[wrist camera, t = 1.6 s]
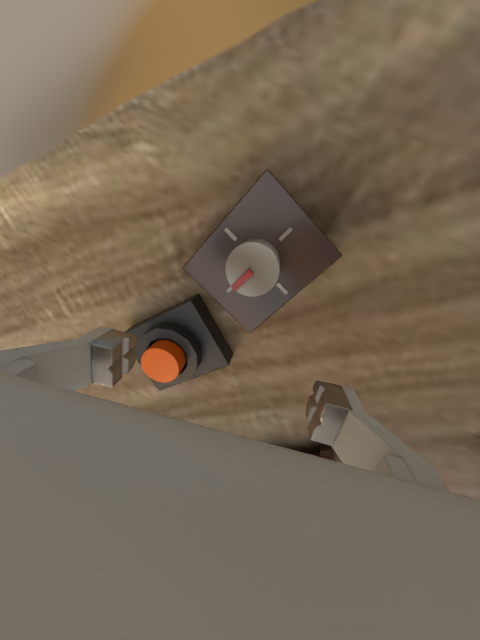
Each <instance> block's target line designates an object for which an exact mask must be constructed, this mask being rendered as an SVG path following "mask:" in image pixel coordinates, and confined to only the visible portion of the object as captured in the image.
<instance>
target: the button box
mask: <svg viewBox="0 0 480 640" xmlns="http://www.w3.org/2000/svg"><path fill="white" fill-rule="evenodd" d="M125 332H126V333H130V334H134V335H135V336H136V337H137V344H136V345H135V347H134V349H135V351H136V359H137V360H138V362H139V363H140V365H141V358H142V355H143V353H144V352H145V351H146V350H147V349H148V348H149V347H150V346H151V345H153V344H154V343H155V342H156V341H159V340H170V341H173V342H175V343H176V344H178V345H179V346H180V347H181V348H182V350H183V351H184V353H185V357H186V362H185V365H184V367H183V369H182V370H181V371H180V373H179V374H178V376H177V377H176V378H175V379H174V380H173V381H170V382H158V381H155V380H153V379H152V378H150V379H151V380H152V381H153V383H154V384H155V386H156V387H157V388H158V390H162V389H165V388H168V387H170V386H173V385H176V384H179V383H182V382H185V381H187V380H190V379H192V378H195V377H198V376H200V375H203V374H206V373H209V372H211V371H214V370H217V369H220V368H222V367H225V366H228V365H229V363H230V361H231V358H232V355H233V353H232V351H231V349H230V348H229V346H228V344H227V342H226V341H225V339H224V337H223V336H222V334H221V332H220V330H219V329H218V327H217V325H216V323H215V322H214V320H213V318H212V316H211V315H210V313H209V311H208V309H207V308H206V306H205V304H204V302H203V301H202V299H201V297H200V295H199V294H197V295H195V296H193V297H191V298H189V299H187V300H185V301H183V302H181V303H179V304H177V305H175V306H173V307H171V308H169V309H167V310H165V311H163V312H161V313H159V314H157V315H155V316H153V317H151V318H149V319H146V320H144V321H142V322H140V323H138V324H136V325H134V326H132V327H131V328H129V329H128V330H127V331H125ZM141 366H142V365H141Z"/></svg>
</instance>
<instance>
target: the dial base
mask: <svg viewBox="0 0 480 640" xmlns="http://www.w3.org/2000/svg"><path fill="white" fill-rule="evenodd" d="M254 238H261V239H265V240H267V241H269V242H271V243H272V244H273V245H274V246H275V247H276V249H277V250H278V253H279V256H280V273H279V278H278V280H277V282H276V284H275V286H274V287H273V288H272V289H271V290H270V291H269V292H267V293H266V294H263V295H261V296H256V297H250V296H245V295H242V294H240V293H238V292H237V291H236V292H235V291H234V290H233V289H232V288H231V285H230V284H229V282H228V280H227V277H226V271H225V266H226V261H227V258H228V256H229V254H230V253H231V252H232V250H233V249H234V248H236V247H237V246H238V245H240V244H242V243H244V242H246V241H248V240H250V239H254ZM341 256H342V254H341V253H340V252H339V251H338V250H337V248H336V247H335V246H334V245H333V244H332V243H331V241H330V240H329V239H328V238H327V237H326V236H325V235H324V233H323V232H322V231H321V230H320V229H319V228H318V226H317V225H316V224H315V223H314V222H313V221H312V219H311V218H310V217H309V216H308V215H307V214H306V213H305V211H304V210H303V209H302V208H301V207H300V206H299V204H298V203H297V202H296V201H295V200H294V199H293V198H292V196H291V195H290V194H289V193H288V192H287V191H286V189H285V188H284V187H283V186H282V185H281V184H280V183H279V181H278V180H277V179H276V178H275V177H274V176H273V174H272V173H271V172H270V171H269V170H268V169H266V171H265V172H264V173H263V174H262V175H261V176H260V178H259V179H258V180H257V181H256V182H255V184H254V185H253V186H252V187H251V188H250V189H249V191H248V192H247V193H246V194H245V195H244V196H243V198H242V199H241V200H240V201H239V202H238V203H237V205H236V206H235V207H234V208H233V209H232V210H231V212H230V213H229V214H228V215H227V216H226V217H225V219H224V220H223V221H222V222H221V223H220V225H219V226H218V227H217V228H216V229H215V230H214V232H213V233H212V234H211V235H210V236H209V237H208V239H207V240H206V241H205V242H204V243H203V244H202V246H201V247H200V248H199V249H198V250H197V251H196V253H195V254H194V255H193V256H192V257H191V258H190V260H189V261H188V262H187V263H186V264H185V266H184V267H183V269H184V270H185V271H186V272H187V273H188V274H189V275H190V276H191V277H192V278H194V279H195V280H196V281H197V282H198V283H199V284H200V285H201V286H202V287H203V288H204V289H205V290H206V291H207V292H208V293H209V294H210V295H211V296H212V297H213V298H214V299H215V300H216V301H217V302H218V303H219V304H220V305H221V306H222V307H223V308H224V309H225V310H226V311H227V312H228V313H229V314H230V315H231V316H232V317H233V318H234V319H236V320H237V321H238V322H239V323H240V324H241V325H242V326H243V327H244V328H245V329H246V330H247V331H248V332H249V333H251V332H252V331H253V330H254V329H256V328H257V327H258V326H259V325H260V324H262V323H263V322H264V321H265V320H266V319H268V318H269V317H270V316H271V315H272V314H273V313H275V312H276V311H277V310H278V309H279V308H281V307H282V306H283V305H284V304H285V303H286V302H288V301H289V300H290V299H291V298H292V297H294V296H295V295H296V294H297V293H298V292H300V291H301V290H302V289H303V288H304V287H305V286H307V285H308V284H309V283H310V282H311V281H313V280H314V279H315V278H316V277H317V276H318V275H320V274H321V273H322V272H323V271H324V270H326V269H327V268H328V267H329V266H330V265H331V264H333V263H334V262H335V261H336V260H337V259H339V258H340V257H341Z"/></svg>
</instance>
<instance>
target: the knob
mask: <svg viewBox="0 0 480 640" xmlns="http://www.w3.org/2000/svg"><path fill="white" fill-rule="evenodd" d="M225 271H226V277H227V280H228V282H229V284H230V285H231V288H232V289H233V290H234V291H235V292H236V291H237V292H238V293H240V294H242V295H245V296H250V297H256V296H261V295H263V294H266V293H267V292H269V291H270V290H271V289H272V288H273V287H274V286H275V284H276V282H277V280H278V278H279V273H280V256H279V253H278V250H277V249H276V247H275V246H274V245H273V244H272V243H271V242H269V241H267V240H265V239H261V238H254V239H250V240H248V241H246V242H244V243H242V244H240V245H238V246H237V247H236V248H234V249H233V250H232V252H231V253H230V254H229V256H228V258H227V261H226V266H225Z"/></svg>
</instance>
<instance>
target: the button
mask: <svg viewBox="0 0 480 640" xmlns="http://www.w3.org/2000/svg"><path fill="white" fill-rule="evenodd" d="M185 362H186V357H185V353H184V351H183V350H182V348H181V347H180V346H179V345H178V344H176V343H175V342H173V341H170V340H159V341H156V342H155V343H154V344H153V345H151V346H150V347H149V348H148V349H147V350H146V351H145V352H144V353H143V355H142V358H141V365H142V368H143V370H144V372H145V373H146V374H147V375H148V376H149V377H150V378H152V379H153V380H155V381H158V382H170V381H173V380H174V379H175V378H176V377H177V376H178V374H179V373H180V371H181V370H182V369H183V367H184V365H185Z"/></svg>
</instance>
